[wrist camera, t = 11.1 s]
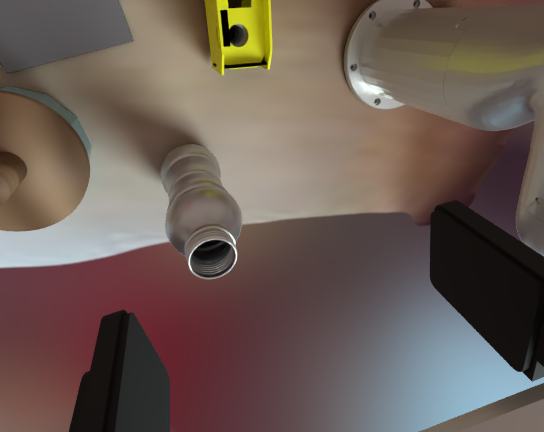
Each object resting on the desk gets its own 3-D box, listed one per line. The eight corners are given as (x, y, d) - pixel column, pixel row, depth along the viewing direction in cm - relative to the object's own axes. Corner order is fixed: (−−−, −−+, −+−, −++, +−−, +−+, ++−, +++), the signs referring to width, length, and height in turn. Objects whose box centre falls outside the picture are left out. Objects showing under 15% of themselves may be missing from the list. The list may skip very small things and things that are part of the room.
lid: (47, 71, 31) (26, 82, 26) (112, 201, 38) (106, 231, 33) (-118, 114, 30) (-176, 135, 24) (-19, 242, 36) (-48, 280, 31)
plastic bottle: (147, 164, 42) (144, 263, 25) (192, 126, 42) (219, 201, 25) (186, 201, 46) (206, 309, 29) (227, 166, 45) (273, 256, 28)
